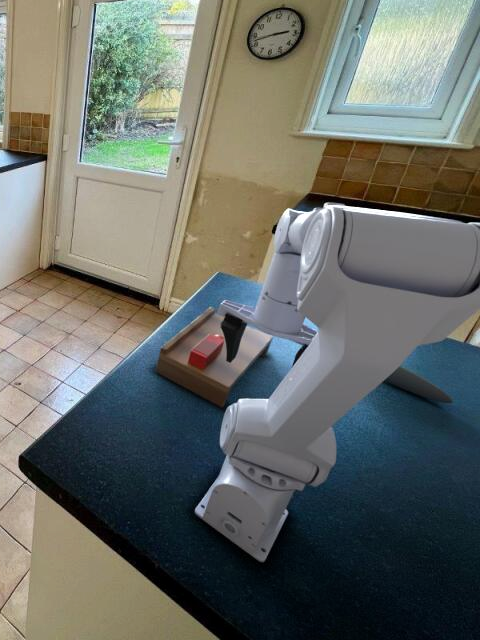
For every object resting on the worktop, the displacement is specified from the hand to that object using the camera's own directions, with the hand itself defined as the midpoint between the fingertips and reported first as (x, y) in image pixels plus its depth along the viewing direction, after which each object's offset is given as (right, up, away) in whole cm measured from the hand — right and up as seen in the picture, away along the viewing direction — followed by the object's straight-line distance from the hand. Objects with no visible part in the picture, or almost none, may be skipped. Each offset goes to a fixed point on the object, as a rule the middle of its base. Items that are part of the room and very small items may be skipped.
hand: (257, 371), depth 64 cm
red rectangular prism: (-1, -1, +12) cm, 12 cm away
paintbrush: (+32, -5, +15) cm, 36 cm away
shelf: (+3, -3, +18) cm, 18 cm away
